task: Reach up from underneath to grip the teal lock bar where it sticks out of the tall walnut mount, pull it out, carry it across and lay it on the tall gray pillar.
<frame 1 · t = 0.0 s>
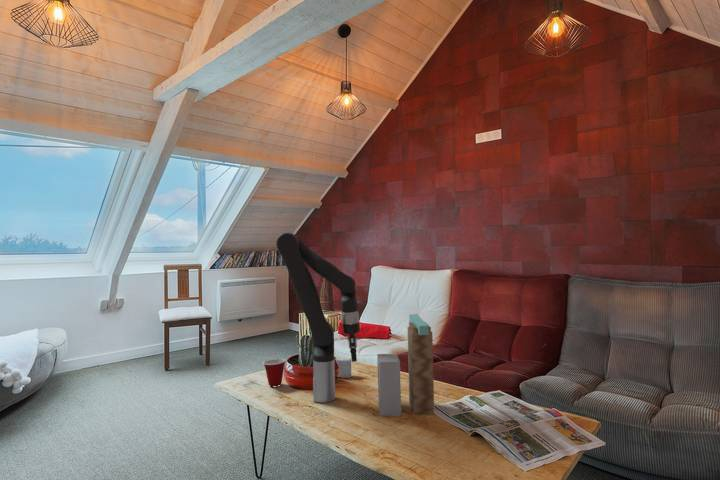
hand: (354, 358, 183), 17 cm above the table, tool pointing down, fingers open, 8 cm apart
lock bar: (418, 328, 173), point 32 cm above the table, touching mount
plastic cup: (274, 385, 201), on the table
tall gray pillar: (389, 409, 169), on the table
medicine box: (343, 377, 212), on the table
mount: (421, 408, 169), on the table
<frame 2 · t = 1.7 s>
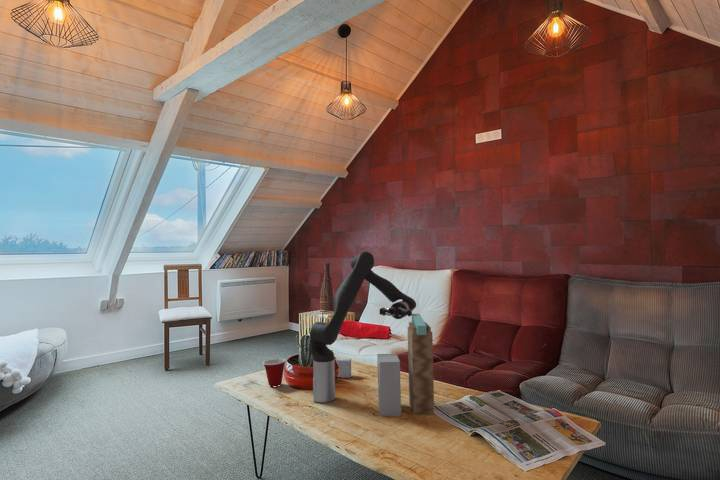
hand: (392, 313, 179), 37 cm above the table, tool horizontal, fingers open, 7 cm apart
lock bar: (418, 327, 173), point 32 cm above the table, touching hand, mount
everything else where it was.
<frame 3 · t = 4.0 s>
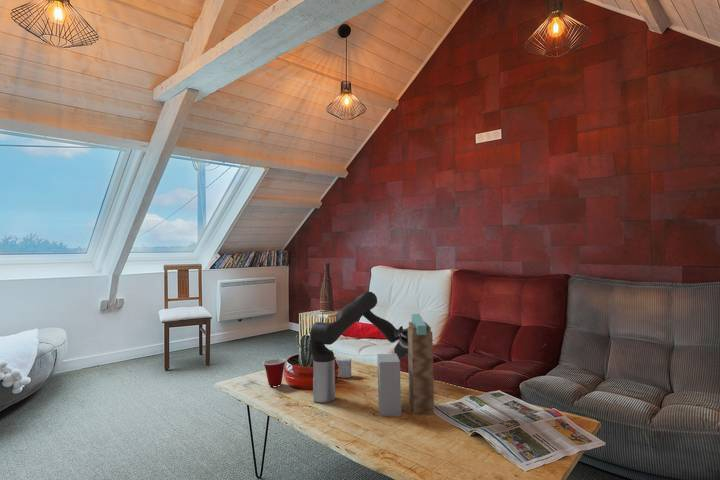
hand: (411, 327, 192), 28 cm above the table, tool pointing upward, fingers open, 8 cm apart
lock bar: (418, 327, 173), point 32 cm above the table, touching mount
everything else where it was.
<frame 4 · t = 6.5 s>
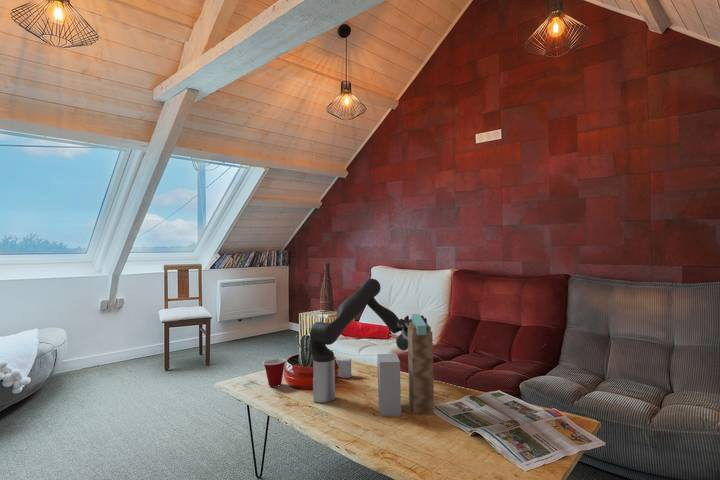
hand: (415, 317, 181), 35 cm above the table, tool pointing upward, fingers open, 5 cm apart
lock bar: (418, 327, 173), point 32 cm above the table, touching gripper, mount
everything else where it was.
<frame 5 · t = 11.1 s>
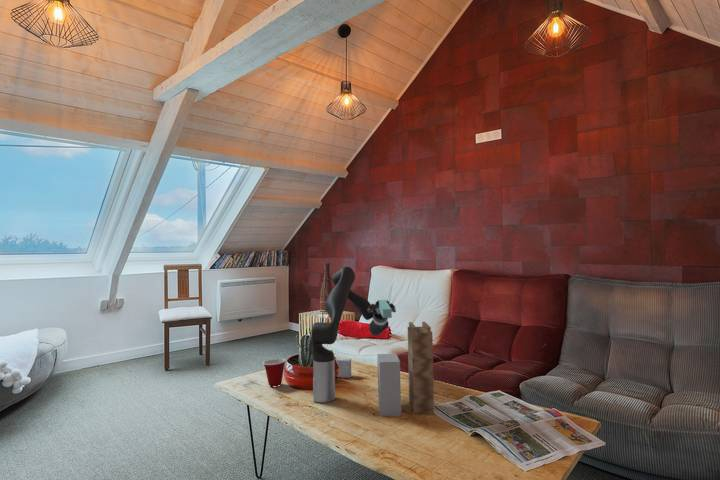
hand: (382, 302, 190), 40 cm above the table, tool pointing upward, fingers closed on lock bar, 3 cm apart
lock bar: (384, 312, 182), point 37 cm above the table, touching gripper
everything else where it was.
when the fingers open (25 cm above the table, at t = 15.1 s): lock bar drops 1 cm, resting on tall gray pillar.
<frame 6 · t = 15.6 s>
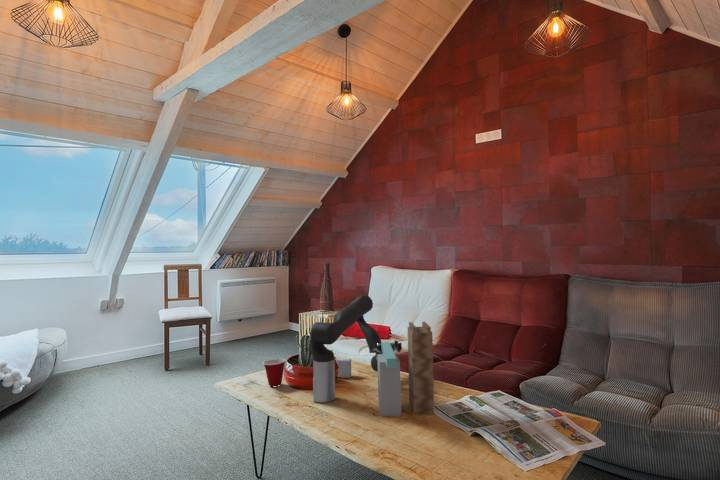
hand: (386, 342, 177), 25 cm above the table, tool pointing upward, fingers open, 8 cm apart
lock bar: (388, 358, 168), point 21 cm above the table, touching tall gray pillar
everything else where it was.
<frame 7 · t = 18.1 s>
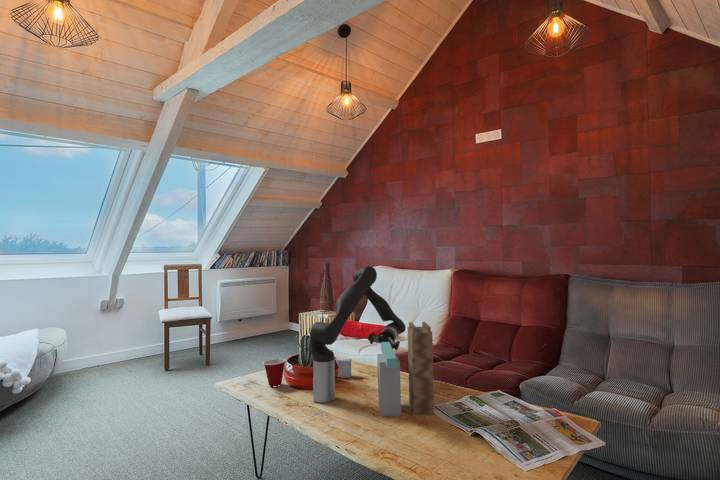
hand: (380, 345, 185), 22 cm above the table, tool horizontal, fingers open, 8 cm apart
nothing on the table moved.
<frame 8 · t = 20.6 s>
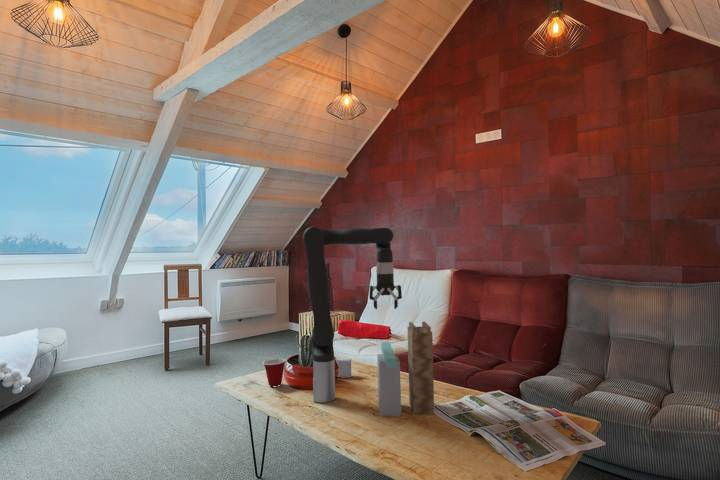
hand: (385, 308, 186), 38 cm above the table, tool pointing down, fingers open, 8 cm apart
nothing on the table moved.
at the end: lock bar inside the target area (0.7 cm from its centre), point 21.0 cm above the table; lock bar tilted 0°; the gripper is holding nothing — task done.
